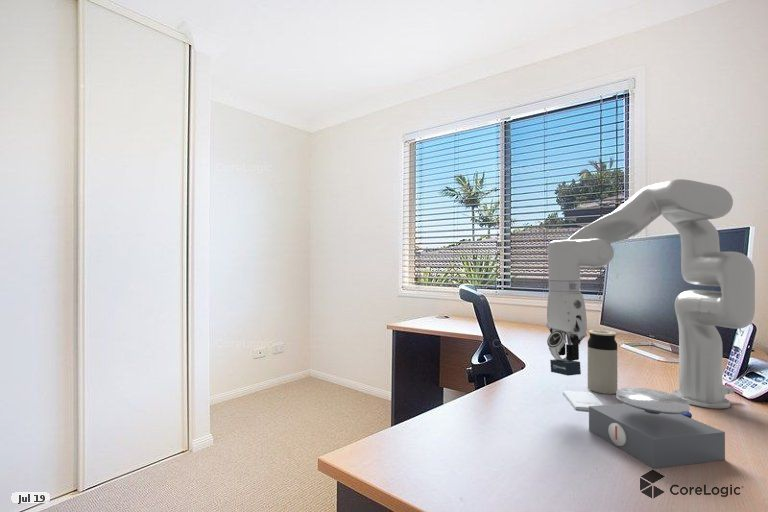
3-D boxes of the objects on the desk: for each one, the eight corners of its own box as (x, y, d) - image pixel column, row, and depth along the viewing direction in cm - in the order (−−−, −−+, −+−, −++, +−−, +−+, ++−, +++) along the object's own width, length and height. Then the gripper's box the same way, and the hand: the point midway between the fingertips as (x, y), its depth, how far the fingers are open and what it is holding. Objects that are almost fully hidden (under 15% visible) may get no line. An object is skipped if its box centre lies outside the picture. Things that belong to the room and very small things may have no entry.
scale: (649, 424, 93) (649, 401, 93) (725, 459, 76) (724, 432, 76) (586, 430, 89) (586, 406, 89) (651, 468, 72) (651, 439, 72)
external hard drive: (592, 398, 112) (608, 414, 100) (562, 396, 114) (575, 412, 101) (592, 392, 112) (608, 408, 100) (562, 390, 114) (575, 405, 101)
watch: (545, 372, 99) (542, 329, 101) (568, 370, 102) (565, 328, 103) (562, 376, 94) (559, 331, 95) (586, 373, 97) (583, 330, 98)
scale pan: (649, 398, 90) (649, 386, 90) (706, 421, 78) (706, 406, 78) (602, 402, 88) (602, 389, 88) (653, 426, 75) (653, 411, 75)
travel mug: (589, 392, 115) (589, 332, 115) (586, 384, 122) (586, 328, 123) (619, 396, 112) (619, 335, 112) (614, 388, 119) (614, 330, 120)
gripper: (601, 289, 92) (603, 365, 91) (556, 284, 108) (557, 349, 108) (574, 290, 90) (575, 367, 90) (532, 285, 107) (534, 351, 106)
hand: (566, 356), depth 99 cm, fingers closed on watch, 4 cm apart
